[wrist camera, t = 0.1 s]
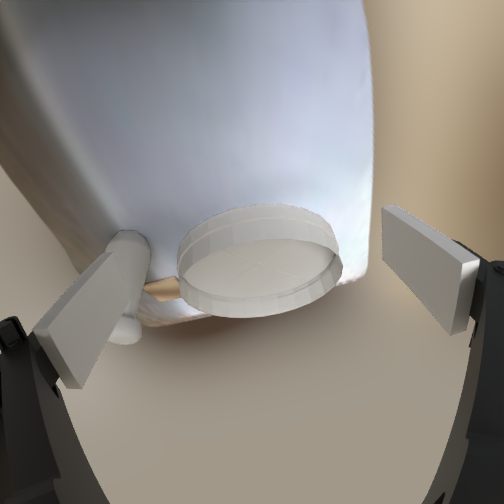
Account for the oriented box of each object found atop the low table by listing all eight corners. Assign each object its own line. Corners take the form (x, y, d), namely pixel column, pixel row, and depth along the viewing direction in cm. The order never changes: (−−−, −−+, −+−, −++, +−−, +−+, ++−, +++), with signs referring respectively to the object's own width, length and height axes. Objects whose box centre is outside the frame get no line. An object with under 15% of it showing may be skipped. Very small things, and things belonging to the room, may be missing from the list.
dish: (253, 171, 31) (260, 209, 28) (362, 241, 45) (372, 271, 42) (148, 268, 44) (147, 299, 41) (259, 300, 57) (262, 326, 55)
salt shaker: (130, 218, 34) (120, 328, 27) (161, 242, 38) (159, 343, 31) (98, 236, 36) (85, 338, 29) (128, 257, 40) (123, 351, 33)
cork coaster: (141, 284, 47) (141, 287, 46) (174, 276, 46) (174, 279, 45) (161, 299, 52) (161, 302, 51) (192, 292, 51) (192, 294, 50)
